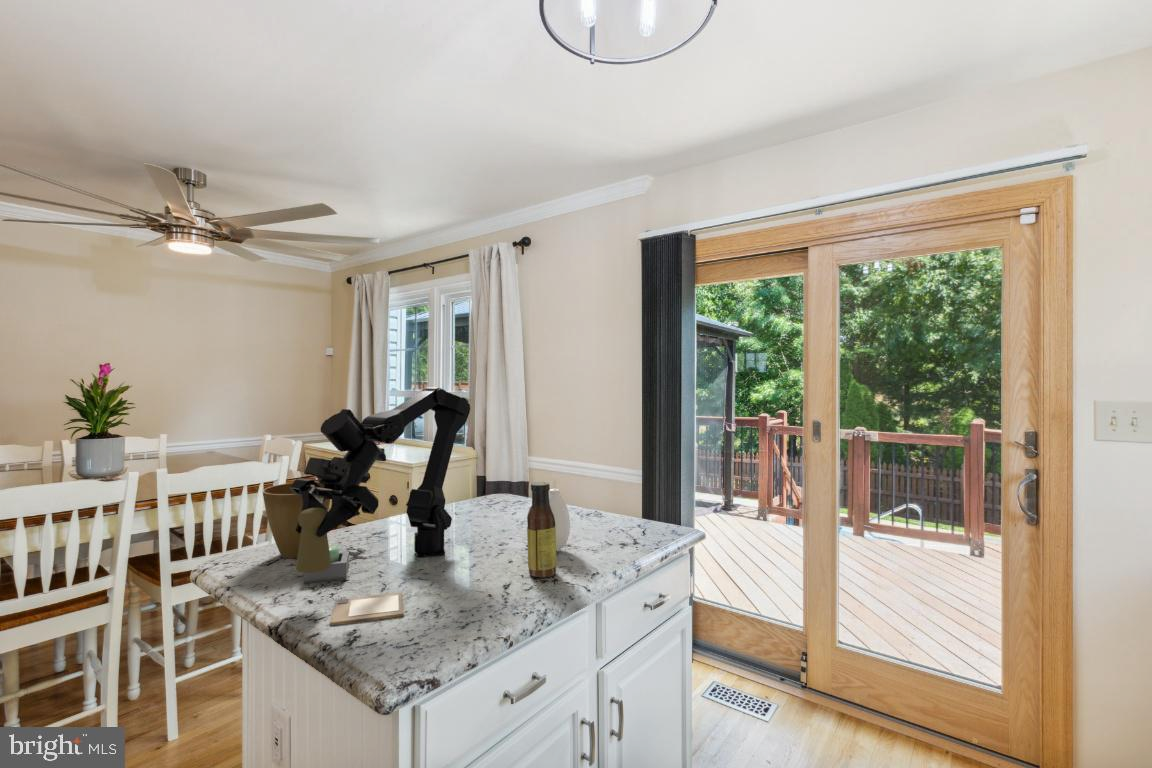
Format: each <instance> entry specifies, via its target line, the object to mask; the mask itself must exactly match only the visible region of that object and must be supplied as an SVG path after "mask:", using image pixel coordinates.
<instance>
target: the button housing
mask: <svg viewBox="0 0 1152 768" xmlns="http://www.w3.org/2000/svg"><path fill="white" fill-rule="evenodd" d="M349 569H350V550H348V551H347V550H346V551H339V562H331V567H329V568H328V569H326V570H323V571H319V572H314V573H303V584H312V583H311V582H314V583H323V582H322V581H324V582H332V581H333V582H334V581H342V580H341V579H344V580H347V578H348V574H347V573H348V572H349Z"/></svg>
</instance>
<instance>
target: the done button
mask: <svg viewBox="0 0 1152 768" xmlns="http://www.w3.org/2000/svg"><path fill="white" fill-rule="evenodd" d="M329 551H330V558H331V562H339V552H340V548H339V546H336V545H329Z"/></svg>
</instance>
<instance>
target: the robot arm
mask: <svg viewBox="0 0 1152 768" xmlns="http://www.w3.org/2000/svg"><path fill="white" fill-rule="evenodd" d="M430 410H431V411H432V412H434V414H433V415H434V416H433V419H434V421H435V425H436V431H435V434H434V435H435V436H434V439H433V443H432V447H431V450H430V453H429V456H428V461H427V464H426V468H425V470H424V471H425V472H424V474H423V478H422V482H421V484H420V485H419V486H418V487H417V488H412V489H410V492H409V497H408V500H407V502H406V504H405V506H406V507H407V508H406V515H407V517H408V521H409V525H410V528H416V532H414V538H413V540H414V543H413V544H414V553H415V554H416V557H417V558H421V557H431V556H441V555H442V556H444V555H445V554H446V550H445V531H446V530H448V528H450V527H451V525H452V520H453V517H452V516H451V515H450V513H448V511H447V510H446V509H445V506H446V497H445V494H444V490H443V487H444V482H445V478H446V476H447V471H448V467H449V463H450V460H451V456H452V452H453V448H454V444H455V441H456V437H457V433H458V432H459V431H460V430H461V429H462V428H463V427H464V426H465V424H466V423H467V420H468V418H469V416H470V412H471V405H470V403H469V402H468V399H467V398H466V397H461V396H459V395H456V394H453V393H451V392H448V391H446V390H445V389H443V388H441V387H425V388H423V389H422V390H421V391H420V392H419V393H417V394H416V395H414V396H412V397H411V398H408V399H407V400H405V401H404V402H402V403H401V404H399V405H397V406H395V407H394V408H392V409H390V410H386V411H381V412H377V413H374V414H371V415H367V416H366V417H365V418H363V420H362V421H361V422H360V421H359V420H358V418H357V417H356V416H355V414H354V412H353V411H352V410H351V409H346V408H345V409H344V408H343V409H341V410H340V412H338V413H335V414H333V415H331V416H330V417H329V418H327V419H325V420H323V422H322V424H321V426H320V432H321V433H322V435H323V436H324V437H325V438H326V439H327V440H328V441H329V442H330V443H331V445H332V446H334V448H335V449H336V450H338V452H341V453H344V452H346V453H345V455H344V456H343V457H339V456H334V457H332V459H326V458H319V457H309V459H308V461H307V463H306V466H305V469H304V471H303V474H305V475H308V476H309V475H310V476H313V477H315V478H316V477H317V478H318V479H317V481H315V480H314V479H309V478H304V477H303V478H301V477H300V478H297V479H295V480H294V481H293V482H292V483H293V484H292V485H291V486H290V489H291V490H292V491H293V492H294V493H296V494H297V495H298V496H299V497H300V498H301V499H302V500H303V507H302V511H303V510H306V509H310V508H324V509H326V510H327V508H326V507H325V506H324V505H322V503H323V502H324V501H325V499H330V500H331V504H330V508H329V510H328V513H327V515H326V516H325V518H324V520H323V521H322V523H321V525H320V526H319V528H318V530H317V532H316V535H317V536H318V537H322V536H323V535H325V534H326V533H327V534H328V533H329V532H330V531H332V530H333V529H335V528H338V527H339V526H340V525H342V524H343V523H345V522H347V521H349V520H350V519H352V518H354V517H357V516H360V515H361V512H362V513H364V514H370V515H374V514H375V512H376V511H377V509H378V508H379V499H378V497H377V496H376V495H375V494H374V493H373V492H372V491H371V489H369V488H368V487H367V486H363V485H361V483H362V484H367V482H369V478H368V477H367V475H368V473H369V471H370V469H371V468H372V467H373V465H374V464H375V462H376V461H377V462H386V461H387V456H386V453H385V452H386V451H385V448H384V447H383V448H381V447H379V446H378V445H377V443H378V444H393V443H395V442H396V441H397V440H398V439H399V438H400V437H401V436H402V435H403V434H404V433H405V430H406V427H407V426H408V425H409V424H411V423H412V422H414V421H415V420H417V419H418V418H420V417H421V416H423V415H424V414H426V413H427V412H428V411H430ZM316 482H320V483H321V484H323V485H324V487H323V488H321V487H320V486H319V485H318V484H317V483H316ZM360 509H361V512H360ZM302 511H301V512H302ZM301 529H302V527H301V526H300V525H299V522H298V524H297V527H296V532H298V533H301Z"/></svg>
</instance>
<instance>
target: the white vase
mask: <svg viewBox="0 0 1152 768" xmlns="http://www.w3.org/2000/svg"><path fill="white" fill-rule="evenodd" d="M560 492H561V491H560V489H558V488H556V479H553V488H550V489H549V504H550V507H551V510H552V512H553V514H554V519H555V527H556V551H557V552H560V551H561V550H562V548H564V547H566V545H567V542H568V541H569V537H570V532H571V520H570V513H569V509H568V506H567V503H566V500H565V499H564V497H563V495H562V493H560Z"/></svg>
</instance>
